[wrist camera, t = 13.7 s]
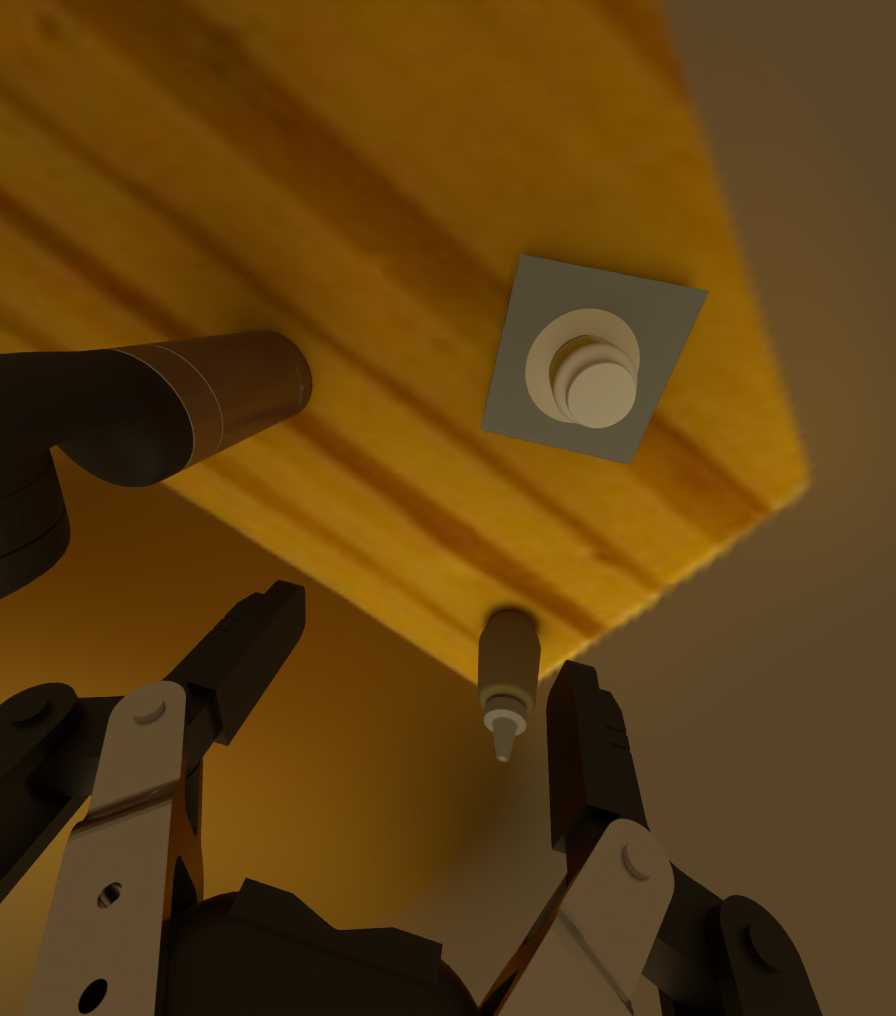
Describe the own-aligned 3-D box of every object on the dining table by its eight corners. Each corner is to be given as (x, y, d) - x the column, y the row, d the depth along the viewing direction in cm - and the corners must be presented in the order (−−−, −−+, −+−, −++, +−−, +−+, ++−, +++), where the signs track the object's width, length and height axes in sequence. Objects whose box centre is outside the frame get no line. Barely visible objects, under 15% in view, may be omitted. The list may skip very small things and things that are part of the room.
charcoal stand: (485, 415, 40) (480, 430, 36) (521, 259, 33) (520, 253, 29) (618, 446, 39) (630, 465, 35) (684, 292, 32) (710, 290, 28)
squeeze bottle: (510, 654, 56) (502, 789, 41) (470, 621, 55) (446, 749, 39) (552, 629, 52) (562, 768, 37) (511, 593, 51) (502, 723, 35)
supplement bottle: (539, 394, 33) (542, 426, 25) (561, 326, 30) (574, 337, 22) (600, 410, 33) (625, 448, 24) (628, 343, 30) (667, 360, 22)
